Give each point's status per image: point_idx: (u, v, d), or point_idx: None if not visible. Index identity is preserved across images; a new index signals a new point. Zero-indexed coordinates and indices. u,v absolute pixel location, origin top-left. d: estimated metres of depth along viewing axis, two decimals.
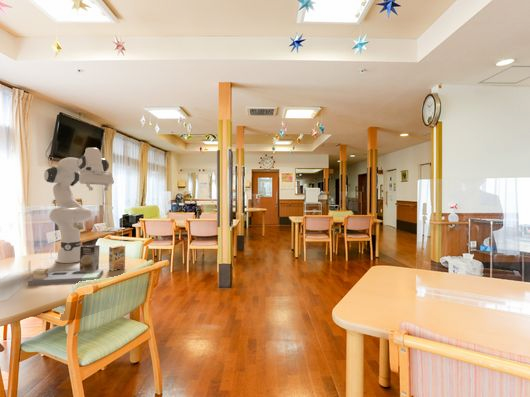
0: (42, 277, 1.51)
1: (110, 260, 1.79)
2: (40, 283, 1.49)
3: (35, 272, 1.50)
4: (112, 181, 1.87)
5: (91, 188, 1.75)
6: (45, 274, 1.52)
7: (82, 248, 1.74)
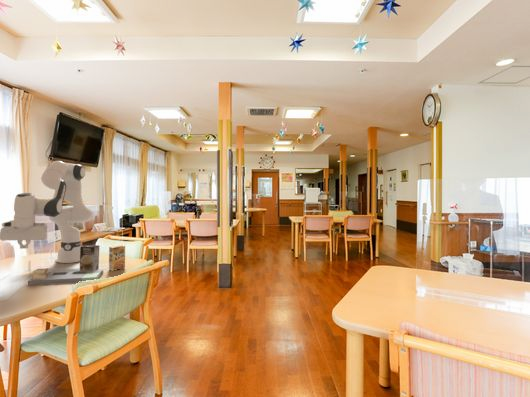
0: (42, 277, 1.51)
1: (110, 260, 1.79)
2: (40, 283, 1.49)
3: (35, 272, 1.50)
4: (42, 237, 1.51)
5: (21, 246, 1.49)
6: (45, 274, 1.52)
7: (82, 248, 1.74)
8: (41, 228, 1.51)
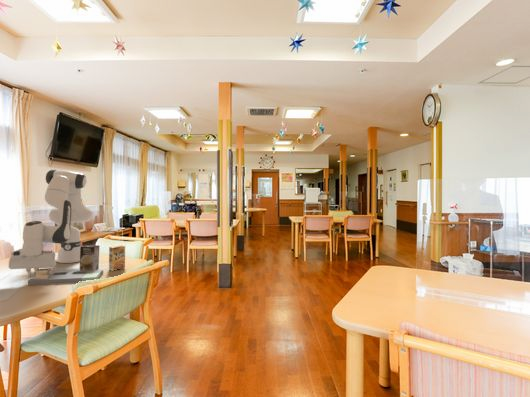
0: (44, 277, 1.51)
1: (110, 260, 1.79)
2: (40, 283, 1.49)
3: (37, 272, 1.50)
4: (50, 265, 1.52)
5: (30, 274, 1.50)
6: (47, 274, 1.52)
7: (82, 248, 1.74)
8: (49, 256, 1.52)
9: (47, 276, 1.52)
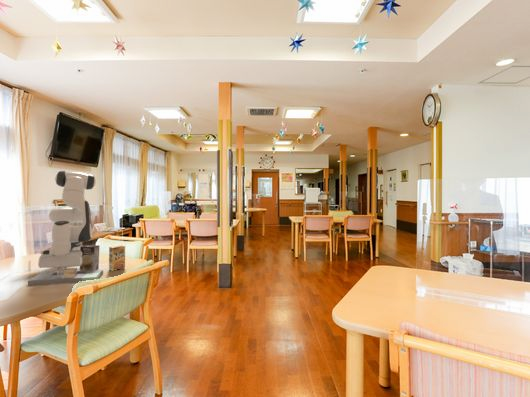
0: (72, 276, 1.55)
1: (110, 260, 1.79)
2: (40, 283, 1.49)
3: (65, 271, 1.54)
4: (78, 263, 1.56)
5: (58, 273, 1.54)
6: (74, 273, 1.56)
7: (82, 248, 1.74)
8: (77, 255, 1.56)
9: (74, 275, 1.56)
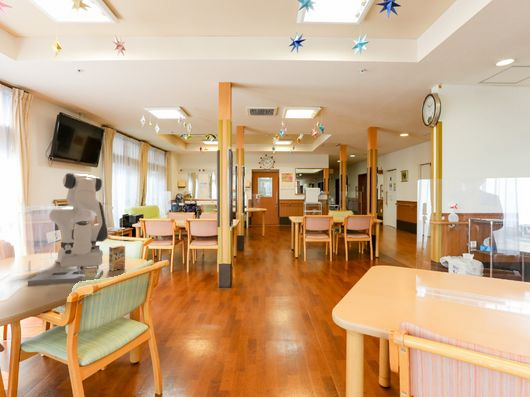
0: (93, 275, 1.58)
1: (110, 260, 1.79)
2: (40, 283, 1.49)
3: (86, 270, 1.57)
4: (98, 262, 1.59)
5: (80, 272, 1.57)
6: (95, 272, 1.59)
7: None
8: (98, 254, 1.59)
9: (95, 274, 1.59)
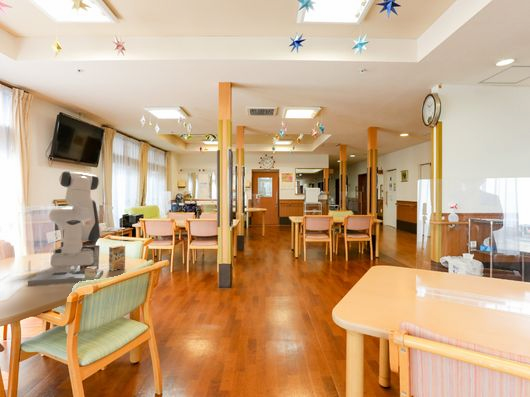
0: (93, 275, 1.58)
1: (110, 260, 1.79)
2: (40, 283, 1.49)
3: (86, 270, 1.57)
4: (89, 262, 1.58)
5: (70, 271, 1.56)
6: (95, 272, 1.59)
7: (82, 248, 1.74)
8: (88, 254, 1.58)
9: (95, 274, 1.59)
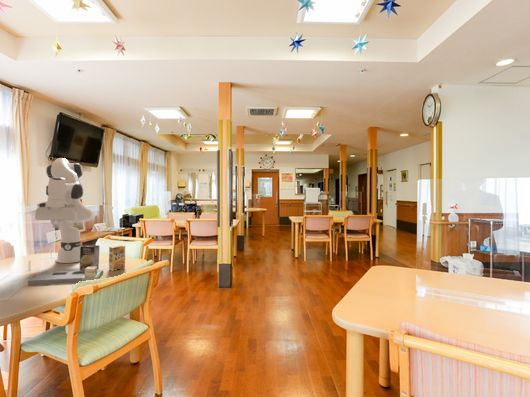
0: (93, 275, 1.58)
1: (110, 260, 1.79)
2: (40, 283, 1.49)
3: (86, 270, 1.57)
4: (73, 217, 1.64)
5: (54, 226, 1.62)
6: (95, 272, 1.59)
7: (82, 248, 1.74)
8: (72, 209, 1.64)
9: (95, 274, 1.59)
